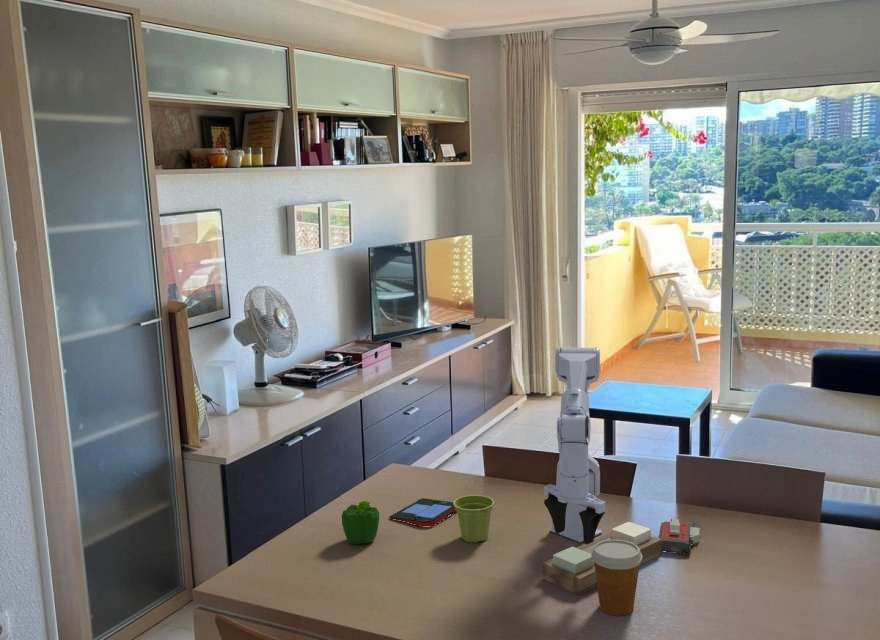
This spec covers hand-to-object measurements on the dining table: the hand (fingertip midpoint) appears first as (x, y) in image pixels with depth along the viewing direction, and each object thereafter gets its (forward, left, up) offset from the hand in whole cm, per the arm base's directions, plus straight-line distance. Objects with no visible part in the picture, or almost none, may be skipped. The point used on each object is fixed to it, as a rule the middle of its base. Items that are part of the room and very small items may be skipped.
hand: (574, 537), depth 175 cm
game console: (-49, +1, -10) cm, 50 cm away
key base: (0, +10, -9) cm, 13 cm away
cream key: (0, +19, -7) cm, 20 cm away
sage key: (0, 0, -7) cm, 7 cm away
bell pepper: (-47, -20, -10) cm, 52 cm away
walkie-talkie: (+3, +34, -10) cm, 35 cm away
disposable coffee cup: (+13, -3, -10) cm, 16 cm away
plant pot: (-30, 0, -10) cm, 32 cm away
